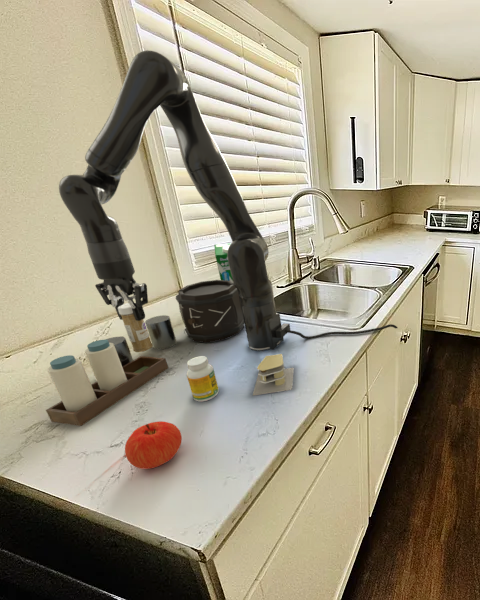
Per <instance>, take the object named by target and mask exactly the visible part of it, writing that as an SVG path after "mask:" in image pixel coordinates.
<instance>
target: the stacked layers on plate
mask: <svg viewBox="0 0 480 600" xmlns="http://www.w3.org/2000/svg"><path fill="white" fill-rule="evenodd" d="M256 369H257V370H258V372H257V378H256V381H255V385H254V388H253V392H252V397H254V396H260V395H261V396H262V395H266V394H273V393H278V392H285V391H292V390H293V384H294V383H293V382H294V369H295V368H294V367H288V368H285V364H284V358H283V354H282V353H279V354H278V353H277V354H269V355H265V357H264V358H263V359H262V360H261V362H260V363H259V364H258V365H257V367H256Z"/></svg>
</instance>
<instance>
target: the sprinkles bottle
mask: <svg viewBox="0 0 480 600" xmlns="http://www.w3.org/2000/svg"><path fill="white" fill-rule="evenodd" d="M118 311H119V314H121V317H122V319H123V320H122V322H123V325H124V329H125V331H126V334H127V336H128V339H129V341H130V344H131V346H132V349H133V352H135V353H143V352H145V351H149V350H150V349H152V348H153V344H152V342H151V339H150V336H149V333H148V330H147V327H146V324H145V319H142V320H140V321H136V319H135V317H134V314H133V311H132V307H131V306H130V304H129V303H128V302H127V303H124V304H123V305H121V306H119V307H118Z"/></svg>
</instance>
